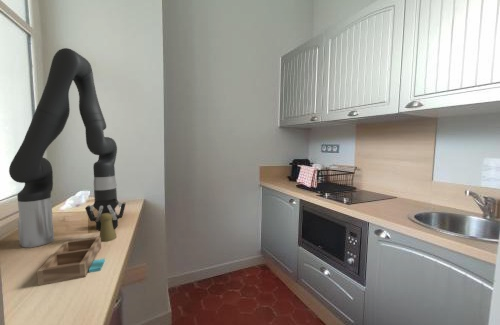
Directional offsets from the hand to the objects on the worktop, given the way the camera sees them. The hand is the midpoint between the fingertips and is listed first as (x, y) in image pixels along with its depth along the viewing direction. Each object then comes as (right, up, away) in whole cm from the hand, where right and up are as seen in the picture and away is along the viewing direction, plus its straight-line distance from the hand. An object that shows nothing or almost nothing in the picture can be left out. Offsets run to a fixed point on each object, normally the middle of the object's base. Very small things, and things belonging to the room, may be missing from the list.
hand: (107, 229), depth 92 cm
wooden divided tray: (+3, -5, -18) cm, 19 cm away
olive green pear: (0, -4, 0) cm, 4 cm away
